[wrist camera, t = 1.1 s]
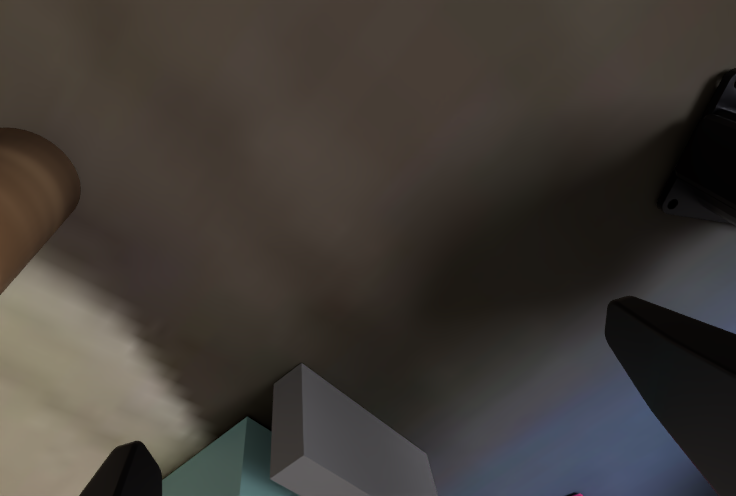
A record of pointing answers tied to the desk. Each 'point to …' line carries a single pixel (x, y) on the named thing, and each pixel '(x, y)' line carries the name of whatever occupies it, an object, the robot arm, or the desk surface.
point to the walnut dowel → (31, 197)
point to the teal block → (229, 467)
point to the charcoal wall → (339, 445)
